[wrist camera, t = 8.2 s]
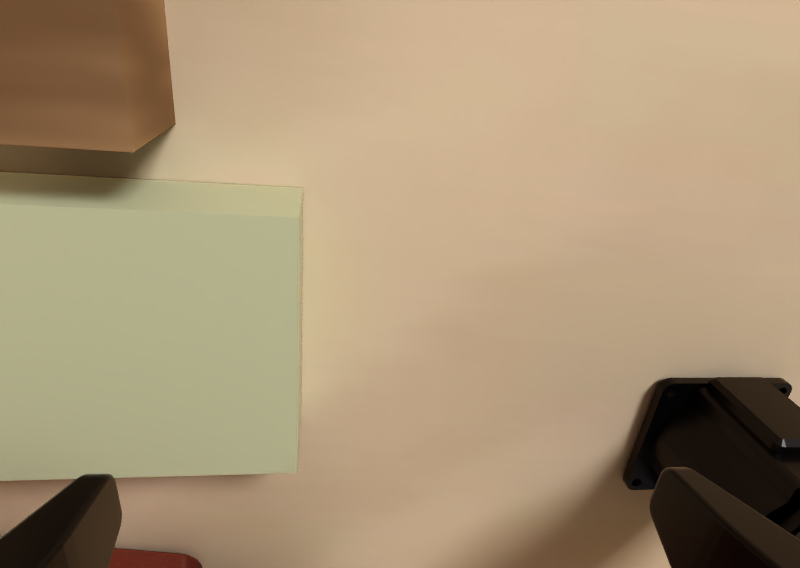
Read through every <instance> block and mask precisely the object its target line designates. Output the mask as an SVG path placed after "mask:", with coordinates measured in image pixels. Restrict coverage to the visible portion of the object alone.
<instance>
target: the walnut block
mask: <svg viewBox="0 0 800 568" xmlns="http://www.w3.org/2000/svg"><path fill="white" fill-rule="evenodd" d="M173 125H175V114H174V103H173V93H172V82H171V71H170V60H169V50H168V39H167V28H166V17H165V6H164V0H0V144H8V145H24V146H40V147H56V148H71V149H87V150H103V151H119V152H135V151H136V150H138V149H139V148H141V147H142V146H144V145H145V144H147V143H148V142H149V141H151V140H152V139H154V138H155V137H157V136H158V135H160V134H161V133H163V132H164V131H166V130H167V129H169V128H170V127H172V126H173Z"/></svg>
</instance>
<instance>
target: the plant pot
mask: <svg viewBox="0 0 800 568" xmlns="http://www.w3.org/2000/svg"><path fill="white" fill-rule="evenodd" d="M108 568H202V565H201V564H200V563H199V561H198V560H197V559H195V558H193V557H191V556H189V555H185V554H176V553H163V552H152V551H140V550H128V549H117V548H114V550H113V553H112V556H111V560H110V563H109V566H108Z"/></svg>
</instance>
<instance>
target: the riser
mask: <svg viewBox="0 0 800 568" xmlns="http://www.w3.org/2000/svg"><path fill="white" fill-rule="evenodd" d="M302 243H303V188H297V187H278V186H259V185H241V184H222V183H203V182H184V181H166V180H147V179H128V178H109V177H91V176H72V175H53V174H34V173H15V172H0V481H17V480H54V479H77V478H78V477H80V476H82V475H84V474H111V475H112V476H113V477H114V478H129V477H166V476H203V475H241V474H278V473H297V468H298V454H299V439H300V425H301V355H302Z"/></svg>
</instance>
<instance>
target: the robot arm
mask: <svg viewBox="0 0 800 568" xmlns="http://www.w3.org/2000/svg"><path fill="white" fill-rule="evenodd" d="M671 388H672V389H671ZM670 389H671V390H670ZM791 390H792V386H791V385H790V384H789V383H788V382H786V381H785V380H784V379H782V378H762V377H716V378H667V379H665V380H663V381H662V382H660V383H659V385H658V387H657V389H656V392H655V394H654V397H653V399H652V402H651V405H650V407H649V410H648V413H647V415H646V418H645V421H644V423H643V426H642V428H641V431H640V434H639V436H638V439H637V442H636V444H635V447H634V449H633V452H632V455H631V457H630V460H629V463H628V465H627V468H626V471H625V473H624V476H623V481H624V482H625V484H626V486H627V487H628V488H629V489H631V490H645V489H654V492H653V494H652V497H651V500H650V513H651V517H652V519H653V522H654V525H655V527H656V530H657V532H658V535H659V537H660V540H661V543H662V545H663V548H664V550H665V553H666V555H667V558H668V561H669V563H670V566H671V568H800V407H799V406H797V405H796V404H795V403H794V402H793V401H791V400H790V399H789V398H788V397H789V395H790V393H791ZM121 519H122V511H121V506H120V501H119V496H118V491H117V486H116V481H115V479H114V477H113V476H112V475H111V474H84V475H82V476H80V477H78V478H77V479H76V480H74V481H73V482H72V483H71V484H69V485H68V486H67V487H65V488H64V489H63V490H62V491H60V492H59V493H58V494H57V495H55V496H54V497H53V498H51V499H50V500H49V501H48V502H46V503H45V504H44V505H42V506H41V507H40V508H39V509H37V510H36V511H35V512H33V513H32V514H31V515H30V516H28V517H27V518H26V519H25V520H23V521H22V522H21V523H19V524H18V525H17V526H16V527H14V528H13V529H12V530H10V531H9V532H8V533H7V534H5V535H4V536H3V537H2V538H0V568H108V566H109V563H110V560H111V556H112V553H113V550H114V546H115V543H116V540H117V536H118V533H119V530H120V526H121Z"/></svg>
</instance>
